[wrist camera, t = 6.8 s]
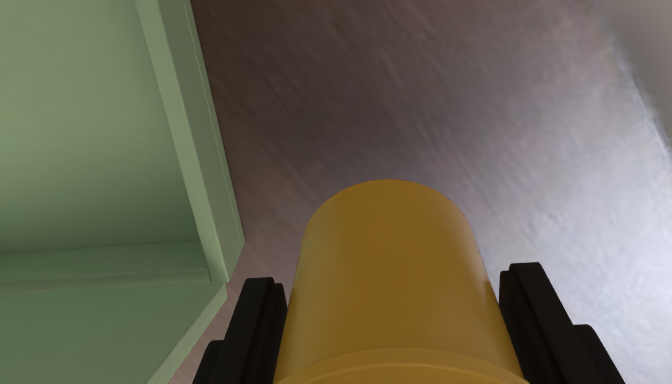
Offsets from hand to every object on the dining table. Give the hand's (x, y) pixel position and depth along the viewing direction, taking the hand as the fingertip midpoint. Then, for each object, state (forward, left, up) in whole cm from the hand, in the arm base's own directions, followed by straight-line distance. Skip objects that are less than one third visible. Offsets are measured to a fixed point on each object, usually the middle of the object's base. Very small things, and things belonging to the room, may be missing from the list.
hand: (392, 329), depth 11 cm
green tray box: (+5, -14, -12) cm, 19 cm away
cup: (-1, -1, -1) cm, 2 cm away
